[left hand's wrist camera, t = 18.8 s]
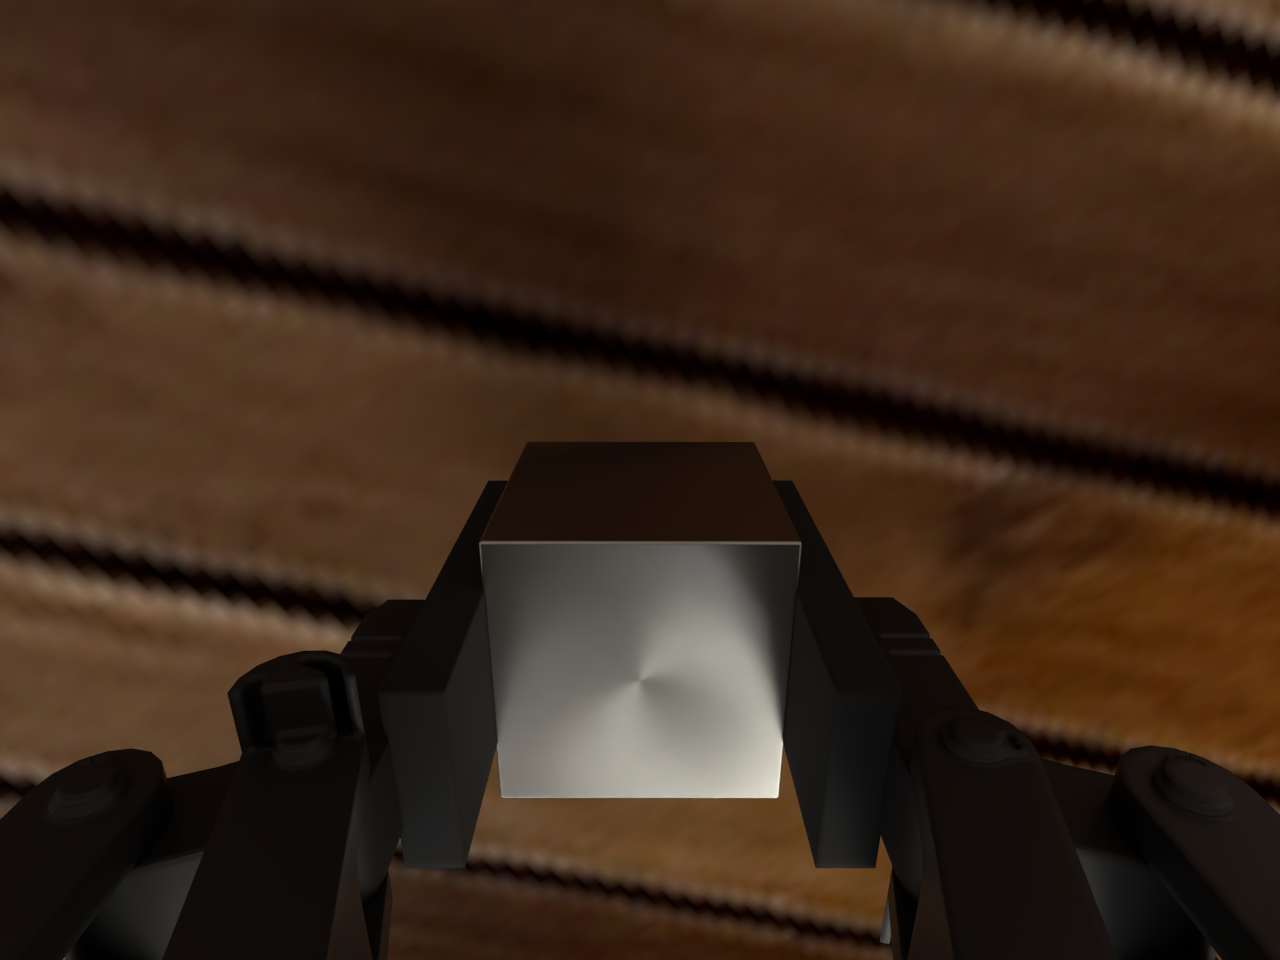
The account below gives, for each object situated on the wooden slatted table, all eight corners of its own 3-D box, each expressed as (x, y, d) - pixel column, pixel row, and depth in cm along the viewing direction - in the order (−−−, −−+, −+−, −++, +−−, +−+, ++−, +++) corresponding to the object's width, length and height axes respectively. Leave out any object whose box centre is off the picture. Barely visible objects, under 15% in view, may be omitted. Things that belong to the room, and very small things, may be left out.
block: (537, 640, 16) (499, 799, 12) (525, 441, 14) (478, 541, 10) (742, 641, 16) (780, 800, 12) (754, 441, 14) (802, 541, 10)
